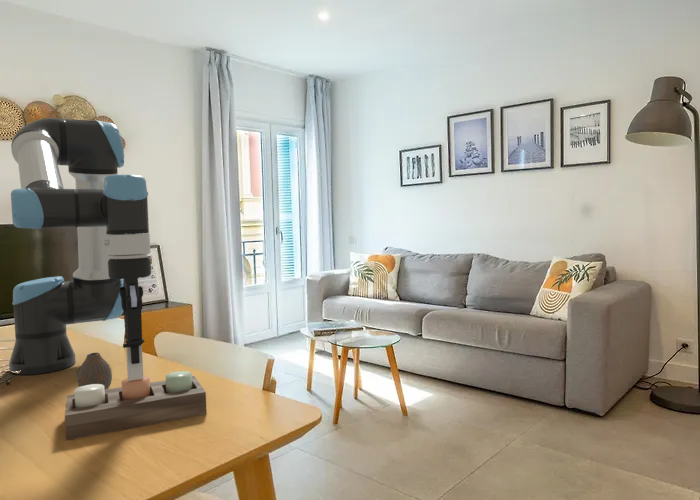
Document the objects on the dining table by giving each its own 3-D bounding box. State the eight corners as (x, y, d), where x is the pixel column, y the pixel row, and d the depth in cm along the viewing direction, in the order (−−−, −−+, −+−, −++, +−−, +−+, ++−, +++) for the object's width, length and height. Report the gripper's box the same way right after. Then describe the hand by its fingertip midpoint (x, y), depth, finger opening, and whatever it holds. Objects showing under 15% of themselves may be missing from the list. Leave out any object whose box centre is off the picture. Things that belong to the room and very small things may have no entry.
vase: (99, 398, 112) (96, 358, 112) (71, 397, 114) (68, 357, 113) (119, 388, 119) (117, 350, 118) (92, 387, 120) (90, 349, 120)
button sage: (164, 392, 106) (163, 373, 106) (190, 388, 108) (189, 369, 108) (168, 400, 102) (167, 380, 101) (194, 395, 104) (193, 376, 104)
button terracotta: (121, 398, 102) (120, 378, 102) (149, 394, 105) (148, 374, 104) (123, 406, 98) (122, 385, 98) (151, 401, 100) (150, 381, 100)
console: (68, 417, 102) (66, 395, 101) (195, 396, 112) (194, 375, 112) (66, 440, 91) (64, 415, 91) (206, 414, 102) (205, 391, 101)
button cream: (75, 407, 99) (74, 386, 99) (105, 402, 101) (103, 382, 101) (75, 416, 94) (74, 394, 94) (105, 411, 97) (104, 389, 96)
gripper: (106, 256, 104) (112, 373, 105) (108, 259, 92) (116, 391, 93) (146, 254, 107) (152, 367, 108) (154, 257, 96) (160, 384, 97)
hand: (135, 378), depth 101 cm, fingers closed
